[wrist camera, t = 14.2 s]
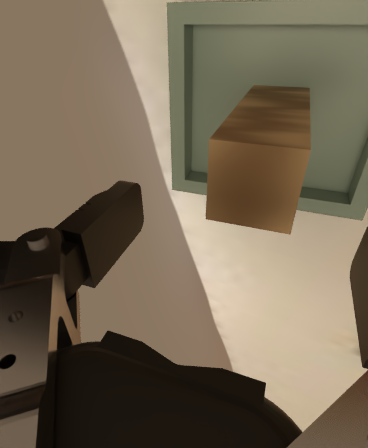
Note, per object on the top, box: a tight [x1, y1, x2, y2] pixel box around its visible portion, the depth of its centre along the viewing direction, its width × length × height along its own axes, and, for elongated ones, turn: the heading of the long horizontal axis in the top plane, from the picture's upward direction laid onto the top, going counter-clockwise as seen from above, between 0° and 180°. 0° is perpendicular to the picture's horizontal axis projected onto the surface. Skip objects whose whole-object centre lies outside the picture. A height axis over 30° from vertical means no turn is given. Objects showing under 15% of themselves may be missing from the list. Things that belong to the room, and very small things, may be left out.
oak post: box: [206, 85, 311, 234], centre depth 18 cm, size 4×4×13 cm
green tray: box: [167, 0, 368, 220], centre depth 23 cm, size 16×14×3 cm
